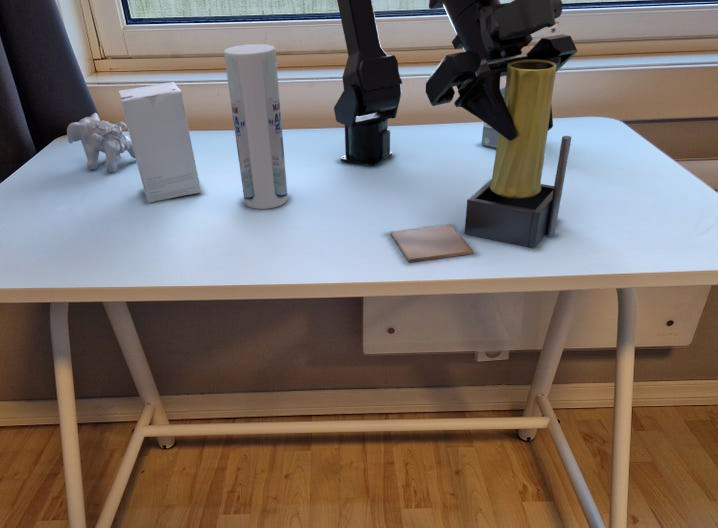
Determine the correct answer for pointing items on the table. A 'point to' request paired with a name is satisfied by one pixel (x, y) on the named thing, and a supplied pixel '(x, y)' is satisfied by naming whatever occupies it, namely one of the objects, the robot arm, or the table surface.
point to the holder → (518, 210)
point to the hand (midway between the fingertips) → (531, 134)
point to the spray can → (257, 123)
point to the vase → (524, 129)
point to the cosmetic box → (161, 140)
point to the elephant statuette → (100, 140)
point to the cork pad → (431, 243)
